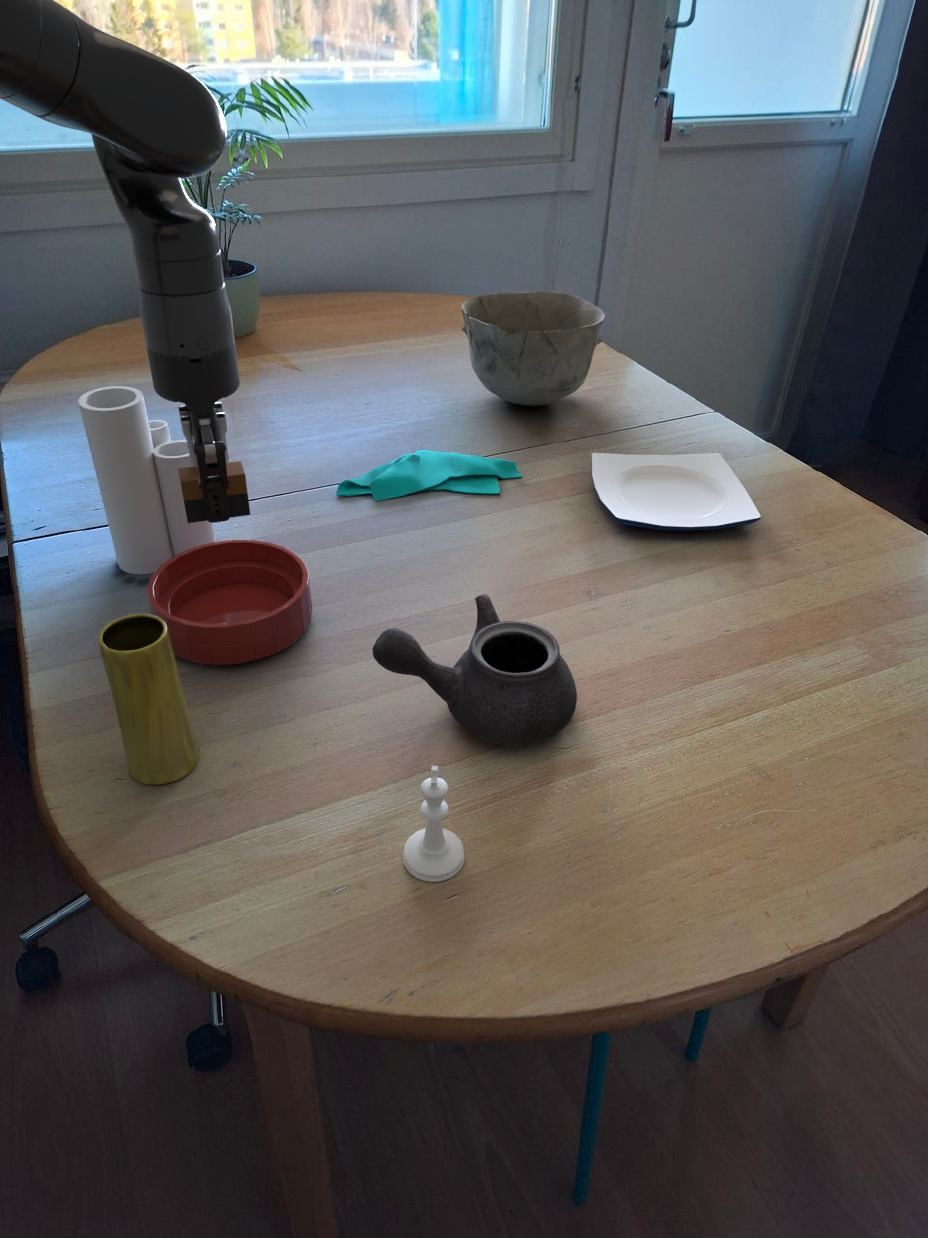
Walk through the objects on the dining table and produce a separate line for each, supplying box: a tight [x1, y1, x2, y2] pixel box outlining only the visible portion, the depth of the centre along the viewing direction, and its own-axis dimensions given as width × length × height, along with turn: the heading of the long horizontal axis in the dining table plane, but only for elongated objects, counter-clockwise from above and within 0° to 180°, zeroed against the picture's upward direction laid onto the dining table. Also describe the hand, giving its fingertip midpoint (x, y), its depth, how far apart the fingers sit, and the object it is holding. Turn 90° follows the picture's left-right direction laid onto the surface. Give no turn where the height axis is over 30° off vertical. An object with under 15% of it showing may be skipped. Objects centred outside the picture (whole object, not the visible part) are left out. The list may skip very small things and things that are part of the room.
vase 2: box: [97, 613, 201, 786], centre depth 73 cm, size 6×6×14 cm
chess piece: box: [402, 765, 466, 883], centre depth 67 cm, size 5×5×10 cm
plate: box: [590, 452, 762, 531], centre depth 118 cm, size 20×20×3 cm
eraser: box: [178, 460, 251, 523], centre depth 85 cm, size 6×3×4 cm, turn 109°
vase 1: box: [77, 385, 217, 576], centre depth 98 cm, size 11×7×20 cm, turn 112°
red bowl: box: [146, 539, 313, 666], centre depth 92 cm, size 16×16×6 cm
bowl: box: [460, 290, 606, 407], centre depth 141 cm, size 22×22×15 cm
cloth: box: [335, 449, 523, 502], centre depth 122 cm, size 26×14×2 cm, turn 97°
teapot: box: [372, 593, 578, 747], centre depth 81 cm, size 19×15×10 cm
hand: (216, 510), depth 86 cm, fingers closed on eraser, 3 cm apart
